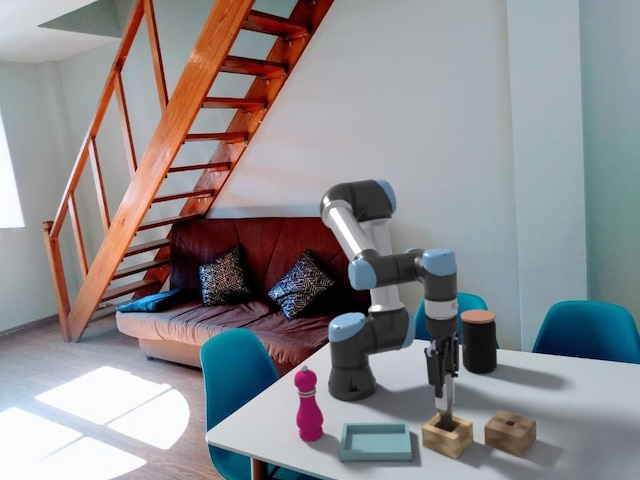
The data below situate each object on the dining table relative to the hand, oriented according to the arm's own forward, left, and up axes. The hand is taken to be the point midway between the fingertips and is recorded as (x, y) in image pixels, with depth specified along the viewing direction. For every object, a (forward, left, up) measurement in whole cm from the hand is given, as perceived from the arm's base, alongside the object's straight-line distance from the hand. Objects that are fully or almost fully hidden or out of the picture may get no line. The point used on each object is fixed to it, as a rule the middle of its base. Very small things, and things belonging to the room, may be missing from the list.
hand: (445, 404), depth 121 cm
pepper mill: (-31, -17, -10) cm, 37 cm away
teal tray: (-14, -11, -10) cm, 20 cm away
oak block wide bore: (0, 0, -10) cm, 10 cm away
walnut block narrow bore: (+12, +9, -10) cm, 18 cm away
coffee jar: (-12, +43, -10) cm, 46 cm away
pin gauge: (0, 0, -6) cm, 6 cm away
